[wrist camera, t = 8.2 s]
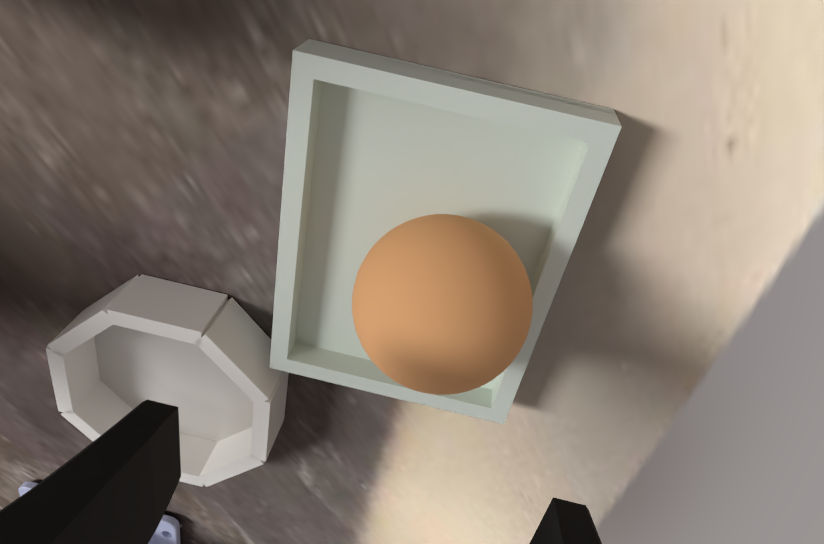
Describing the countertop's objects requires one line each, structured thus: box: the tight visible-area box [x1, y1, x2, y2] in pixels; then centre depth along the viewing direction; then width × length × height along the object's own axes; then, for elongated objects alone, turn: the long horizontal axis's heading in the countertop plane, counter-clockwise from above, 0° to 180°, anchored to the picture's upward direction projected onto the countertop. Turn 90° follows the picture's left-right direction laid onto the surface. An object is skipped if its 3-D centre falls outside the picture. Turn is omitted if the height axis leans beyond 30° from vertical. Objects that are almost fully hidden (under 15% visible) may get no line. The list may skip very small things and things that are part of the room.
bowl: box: [46, 274, 289, 487], centre depth 23 cm, size 8×8×2 cm
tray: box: [269, 39, 622, 424], centre depth 19 cm, size 11×8×2 cm
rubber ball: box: [352, 214, 533, 395], centre depth 17 cm, size 5×5×5 cm
